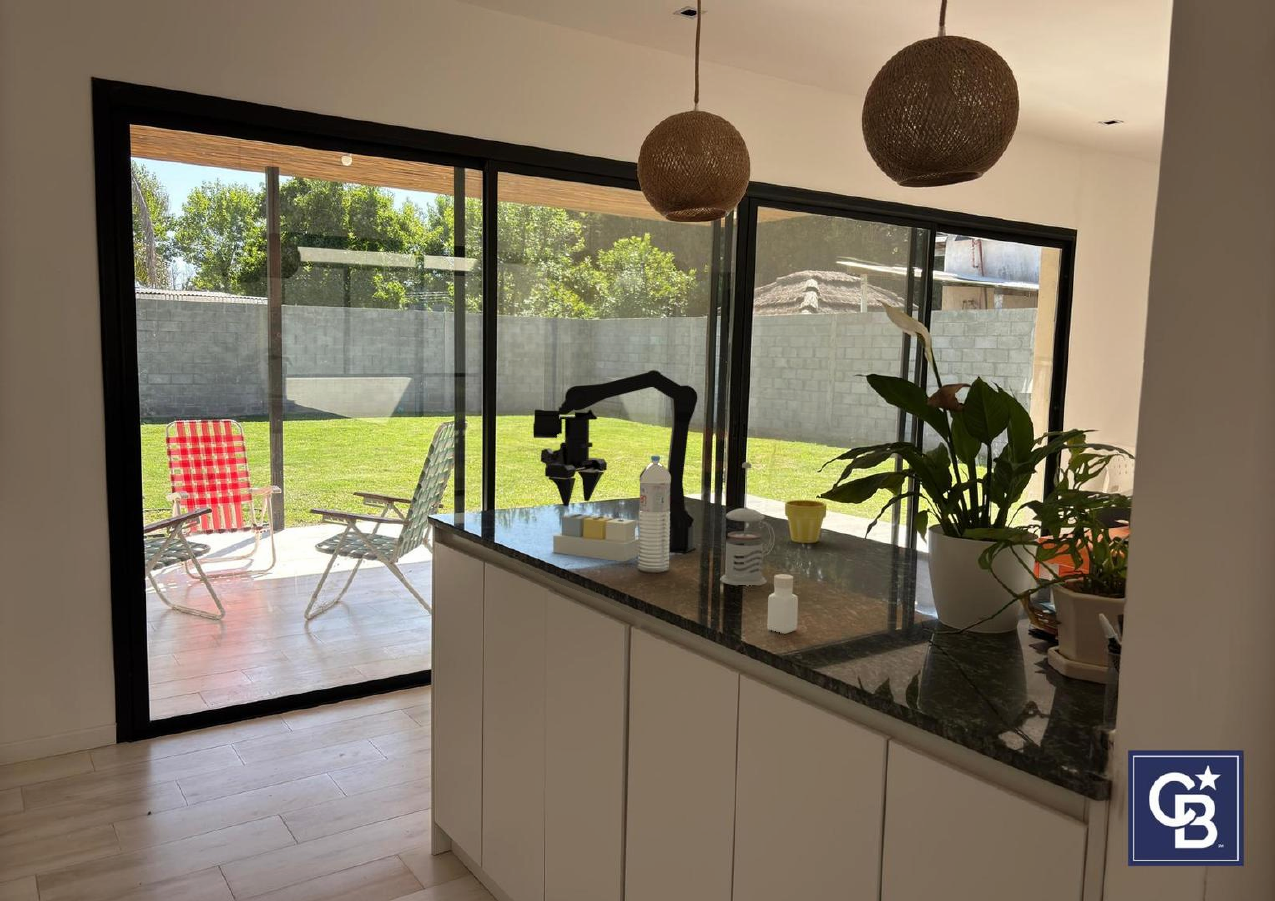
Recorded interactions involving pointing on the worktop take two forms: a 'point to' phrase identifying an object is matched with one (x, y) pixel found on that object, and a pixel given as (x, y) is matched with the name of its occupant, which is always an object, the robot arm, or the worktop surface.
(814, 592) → the worktop surface
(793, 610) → the white pill bottle
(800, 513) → the plant pot
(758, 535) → the french press
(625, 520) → the cream tile
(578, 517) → the slate tile
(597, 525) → the mustard tile
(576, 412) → the robot arm
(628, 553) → the panel
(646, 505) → the water bottle
